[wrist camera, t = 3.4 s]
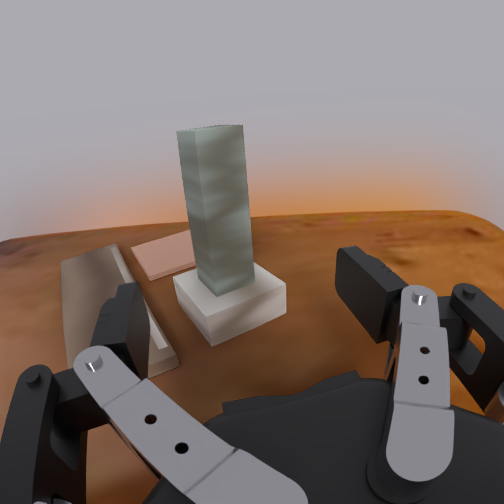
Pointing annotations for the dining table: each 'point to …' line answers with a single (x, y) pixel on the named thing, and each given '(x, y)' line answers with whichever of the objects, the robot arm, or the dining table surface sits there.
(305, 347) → the dining table surface
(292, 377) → the dining table surface
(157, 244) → the end pad
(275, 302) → the tall grey square pillar
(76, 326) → the grey-brown board
